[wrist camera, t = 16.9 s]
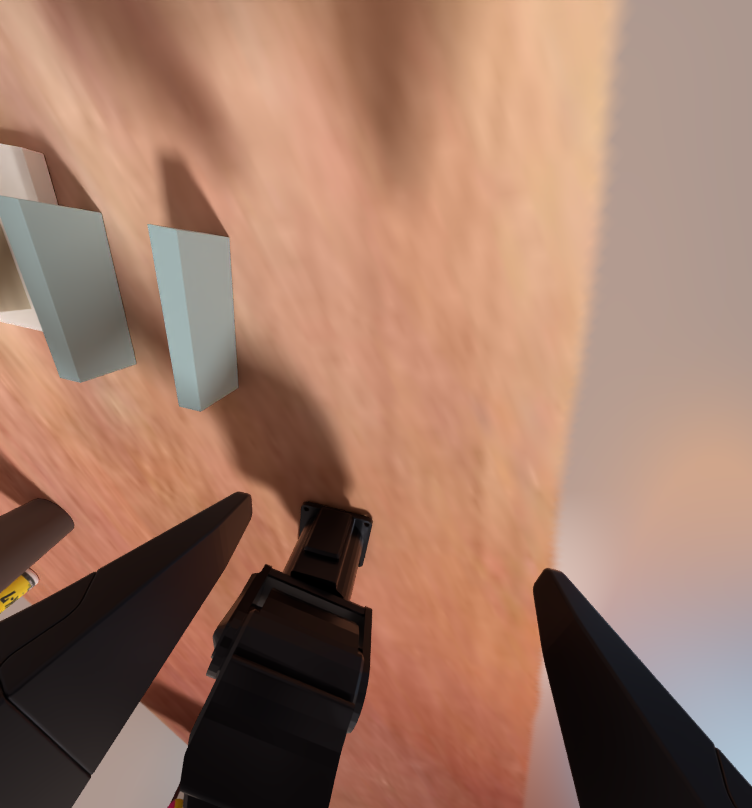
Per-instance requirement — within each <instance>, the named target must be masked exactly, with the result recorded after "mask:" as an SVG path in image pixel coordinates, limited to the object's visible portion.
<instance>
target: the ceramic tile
mask: <svg viewBox="0 0 752 808" xmlns="http://www.w3.org/2000/svg"><path fill="white" fill-rule="evenodd" d="M0 195H1V196H7V197H13V198H19V199H25V200H31V201H37V202H43V203H49V204H54V205H58V203H57V199H56V196H55V192H54V189H53V186H52V182H51V179H50V175H49V172H48V168H47V165H46V161H45V158H44V154H42V153H39V152H36V151H32V150H29V149H26V148H22V147H17V146H11V145H6V144H0ZM0 224H1V227H2V229H3V232H4V235H5V238H6V240H7V243H8V246H9V249H10V251H11V254H12V257H13V259H14V262H15V265H16V268H17V270H18V273H19V276H20V279H21V281H22V284H23V287H24V289H25V292H26V295H27V298H28V300H29V303H30V306H31V309H25V310H15V311H6V312H0V322H4V323H8V324H13V325H17V326H21V327H26V328H30V329H34V330H39V331H43V330H42V328H41V325H40V322H39V320H38V317H37V314H36V312H35V309H34V306H33V304H32V301H31V298H30V296H29V293H28V290H27V288H26V285H25V282H24V279H23V277H22V274H21V271H20V269H19V266H18V263H17V261H16V258H15V255H14V253H13V250H12V247H11V245H10V242H9V239H8V237H7V234H6V231H5V229H4V226H3V223H2V221H1V218H0Z"/></svg>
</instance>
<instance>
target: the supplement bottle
mask: <svg viewBox="0 0 752 808" xmlns="http://www.w3.org/2000/svg"><path fill="white" fill-rule="evenodd" d="M38 581H39V579H38V576H37V575H36V573H35V572H33V571H32V570H31V569H30V568H28V569H27V570H26V571H25V572H24V573H23V574H22V575H20V576H19V577H18V578H17V579H16V580H15V581H14V582H12V583H11V584H10V585H9V586H8V587H7V588H6V589H4V590H3V591H2V592H1V593H0V613H1V612H2V611H4V610H5V609H6V608H8V607H9V606H10V605H11V604H13V603H14V602H15V601H16V600H17V599H19V598H20V597H21V596H22V595H24V594H25V593H26V592H27V591H29V590H30V589H31V588H32V587H34V586H35V585H36V584H37V583H38Z"/></svg>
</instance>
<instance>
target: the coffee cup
mask: <svg viewBox="0 0 752 808" xmlns="http://www.w3.org/2000/svg"><path fill="white" fill-rule="evenodd" d="M73 529H74V523H73V520H72V519H71V517H70V516H69V515H68V514H67V513H66V512H65V511H64V510H63V509H62V508H60V507H59V506H58V505H56V504H54V503H52V502H50V501H47V500H44V499H35V500H32V501H30V502H28V503H26V504H24V505H22V506H20V507H18V508H16V509H14V510H12V511H10V512H8V513H6V514H4V515H2V516H0V593H1V592H2V591H3V590H4V589H6V588H7V587H8V586H9V585H10V584H11V583H12V582H14V581H15V580H16V579H17V578H18V577H19V576H20V575H22V574H23V573H24V572H25V571H26V570H27V569H28V568H30V567H31V566H32V565H33V564H34V563H35V562H36V561H38V560H39V559H40V558H41V557H42V556H43V555H44V554H46V553H47V552H48V551H49V550H50V549H51V548H52V547H53V546H55V545H56V544H57V543H58V542H59V541H60V540H61V539H63V538H64V537H65V536H66V535H67V534H68V533H69V532H71V531H72V530H73Z"/></svg>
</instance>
